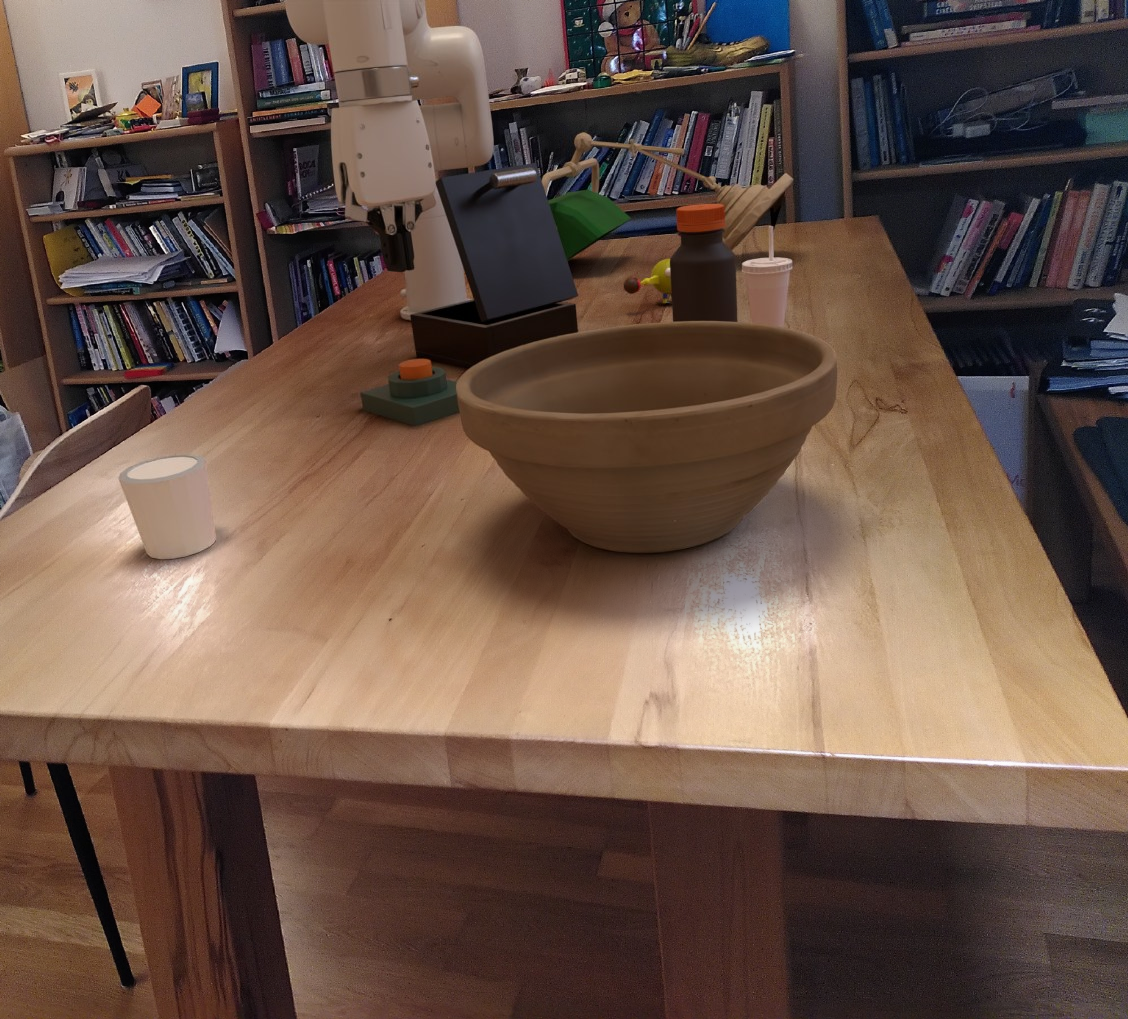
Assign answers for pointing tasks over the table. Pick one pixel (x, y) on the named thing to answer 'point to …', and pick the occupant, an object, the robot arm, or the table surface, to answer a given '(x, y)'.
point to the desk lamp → (597, 216)
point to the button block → (413, 398)
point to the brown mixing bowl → (650, 425)
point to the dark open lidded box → (485, 331)
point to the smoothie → (767, 287)
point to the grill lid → (506, 240)
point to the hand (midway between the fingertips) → (400, 269)
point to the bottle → (703, 267)
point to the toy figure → (653, 280)
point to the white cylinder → (171, 505)
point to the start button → (415, 369)
